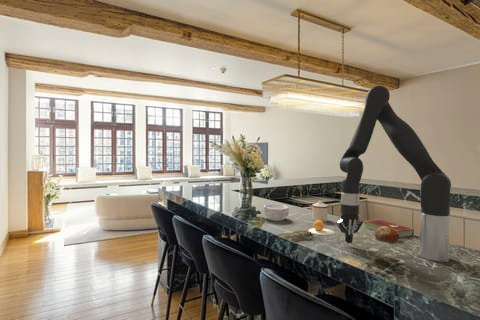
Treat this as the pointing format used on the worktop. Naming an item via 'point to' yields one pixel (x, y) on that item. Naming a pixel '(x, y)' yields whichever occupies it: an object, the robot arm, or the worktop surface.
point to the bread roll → (387, 234)
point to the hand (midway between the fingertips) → (348, 242)
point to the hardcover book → (379, 223)
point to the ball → (318, 225)
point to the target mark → (322, 232)
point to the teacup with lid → (319, 211)
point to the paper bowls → (276, 211)
